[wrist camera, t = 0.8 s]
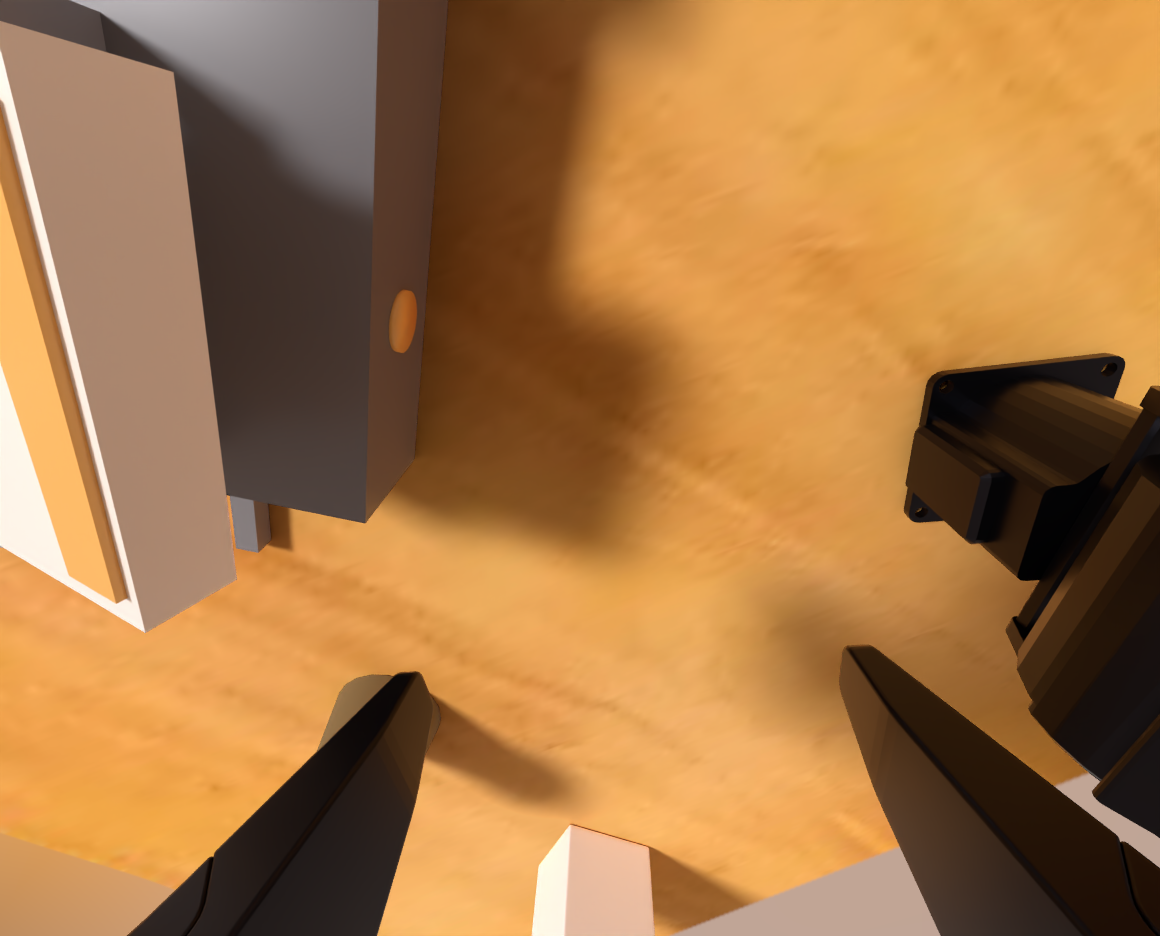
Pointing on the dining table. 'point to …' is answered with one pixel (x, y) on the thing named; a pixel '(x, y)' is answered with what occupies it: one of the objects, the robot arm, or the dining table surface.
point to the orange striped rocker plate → (104, 336)
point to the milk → (594, 887)
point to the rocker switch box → (298, 225)
